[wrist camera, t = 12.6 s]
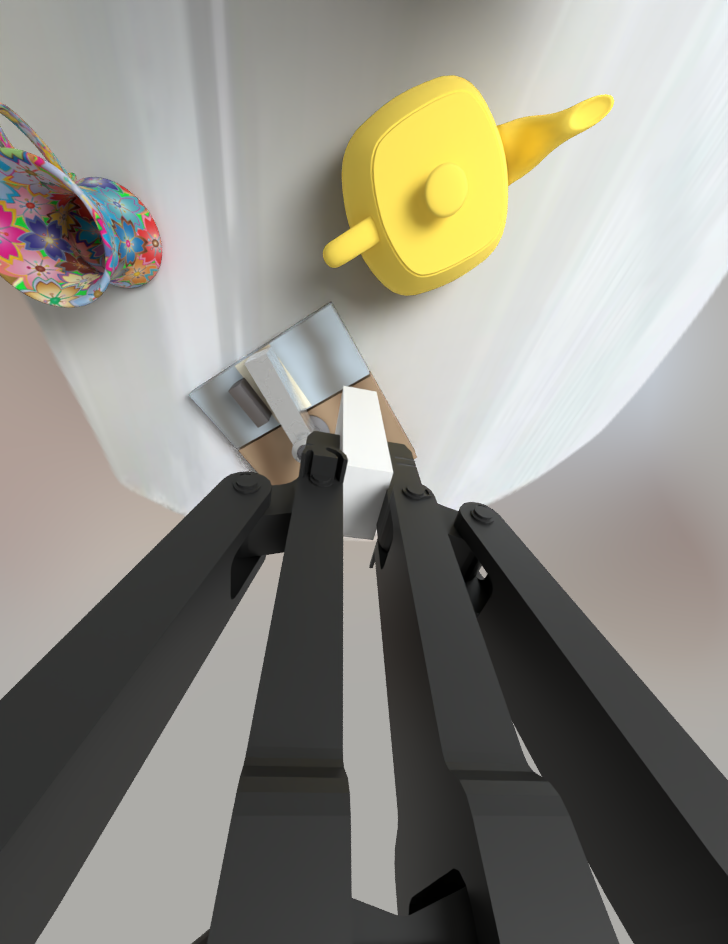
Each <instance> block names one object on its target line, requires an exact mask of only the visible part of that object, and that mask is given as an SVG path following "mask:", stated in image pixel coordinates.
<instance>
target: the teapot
mask: <svg viewBox="0 0 728 944" xmlns="http://www.w3.org/2000/svg"><path fill="white" fill-rule="evenodd" d="M613 104H614V99H613V97H612V96H611V95H598V96H595V97H592V98H589V99H587V100H584V101H582V102H580V103H578V104H576V105H574V106H572V107H570V108H568V109H565V110H563V111H560V112H557V113H553V114H547V115H537V116H528V117H523V118H519V119H515V120H513V121H510V122H507V123H505V124H501V125H498V126H496V124H495V121H494V119H493V116H492V114H491V112H490V110H489V108H488V106H487V104H486V102H485V100H484V99H483V97H482V95H481V94H480V92H479V91H478V90H477V89H476V88H475V87H474V86H473V85H472V83H470V82H469V81H467V80H466V79H464V78H461V77H458V76H441V77H438V78H435V79H433V80H430V81H427V82H424V83H422V84H420V85H418V86H416V87H413V88H411V89H409V90H407V91H405V92H404V93H402V94H400V95H398V96H397V97H395V98H393V99H392V100H391V101H389V102H388V103H386V104H385V105H384V106H382V107H381V108H380V109H379V110H378V111H376V112H375V113H374V114H373V115H372V116H371V117H370V118H369V119H367V120H366V121H365V122H364V123H363V124H362V125H361V126H360V127H359V128H358V129H357V130H356V132H355V133H354V135H353V136H352V138H351V139H350V141H349V143H348V145H347V148H346V150H345V154H344V158H343V164H342V190H343V198H344V205H345V210H346V216H347V219H348V223H349V227H350V229H349V230H348V231H346V232H344V233H343V234H341V235H340V236H338V237H337V238H335V239H334V240H332V241H331V242H329V243H328V244H327V245H326V246H325V247H324V250H323V258H324V261H325V262H326V264H327V265H328V266H329V267H332V268H337V267H340V266H342V265H343V264H345V263H347V262H348V261H350V260H352V259H353V258H355V257H357V256H358V255H360V254H361V256H362V257H363V259H364V261H365V262H366V264H367V265H368V267H369V268H370V270H371V271H372V272H373V274H374V275H375V276H376V277H377V279H378V280H379V281H380V282H381V283H382V284H383V285H384V286H385V287H387V288H388V289H389V290H391V291H392V292H395V293H397V294H400V295H406V296H407V295H417V294H421V293H424V292H427V291H430V290H433V289H436V288H438V287H441V286H443V285H445V284H448V283H450V282H452V281H454V280H455V279H457V278H459V277H461V276H463V275H464V274H466V273H467V272H469V271H470V270H472V269H473V268H474V267H476V266H477V265H479V264H480V263H481V262H483V261H484V260H485V259H486V258H487V257H488V256H489V255H490V254H491V253H492V252H493V251H494V250H495V248H496V246H497V245H498V243H499V241H500V239H501V237H502V234H503V231H504V227H505V223H506V217H507V207H508V186H509V185H510V184H512V183H513V182H515V181H516V180H518V179H520V178H521V177H523V176H524V175H525V174H527V173H528V172H530V171H531V170H532V169H533V168H534V167H536V166H537V165H538V164H539V163H540V162H541V161H542V160H543V159H544V158H545V157H546V156H547V155H548V154H549V153H551V152H552V151H553V150H554V149H555V148H557V147H558V146H559V145H561V144H562V143H564V142H565V141H567V140H568V139H570V138H572V137H574V136H576V135H578V134H579V133H581V132H583V131H585V130H587V129H589V128H590V127H592V126H594V125H595V124H596V123H598V122H599V121H601V120H602V119H603V118H604V117H605V116H606V115H607V114H608V113H609V112H610V110H611V109H612V107H613Z"/></svg>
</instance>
